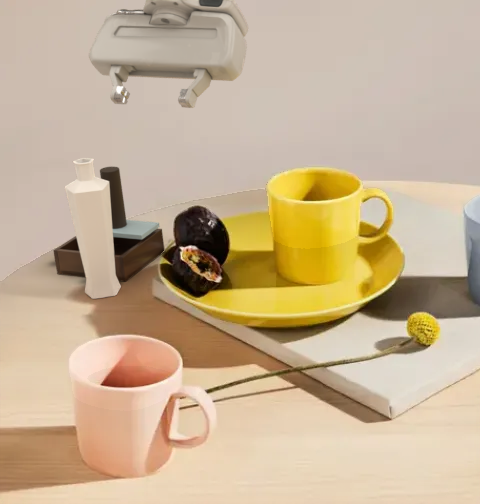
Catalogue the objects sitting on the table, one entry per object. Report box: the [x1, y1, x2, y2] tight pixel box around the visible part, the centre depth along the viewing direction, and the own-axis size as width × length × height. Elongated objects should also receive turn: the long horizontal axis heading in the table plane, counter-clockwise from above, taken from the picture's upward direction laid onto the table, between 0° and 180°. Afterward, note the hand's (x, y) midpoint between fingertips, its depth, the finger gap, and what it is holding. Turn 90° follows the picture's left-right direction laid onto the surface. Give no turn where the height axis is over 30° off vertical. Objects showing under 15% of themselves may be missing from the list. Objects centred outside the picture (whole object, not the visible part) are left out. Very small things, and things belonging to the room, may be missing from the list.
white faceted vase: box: [64, 157, 122, 300], centre depth 101 cm, size 5×4×15 cm
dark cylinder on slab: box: [99, 166, 160, 240], centre depth 111 cm, size 9×4×8 cm, turn 73°
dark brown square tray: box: [52, 228, 165, 282], centre depth 111 cm, size 9×9×3 cm
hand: (151, 103), depth 117 cm, fingers open, 8 cm apart
